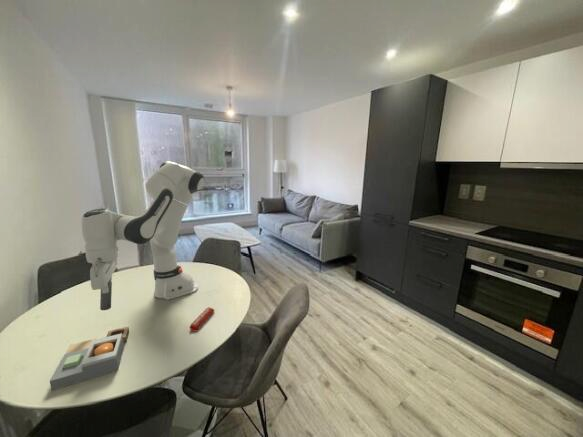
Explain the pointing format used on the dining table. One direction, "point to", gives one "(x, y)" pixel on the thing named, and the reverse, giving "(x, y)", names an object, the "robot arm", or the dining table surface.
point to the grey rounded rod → (106, 298)
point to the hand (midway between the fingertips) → (107, 289)
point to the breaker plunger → (104, 349)
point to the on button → (73, 361)
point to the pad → (79, 346)
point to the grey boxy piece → (89, 363)
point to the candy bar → (201, 319)
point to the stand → (118, 331)
